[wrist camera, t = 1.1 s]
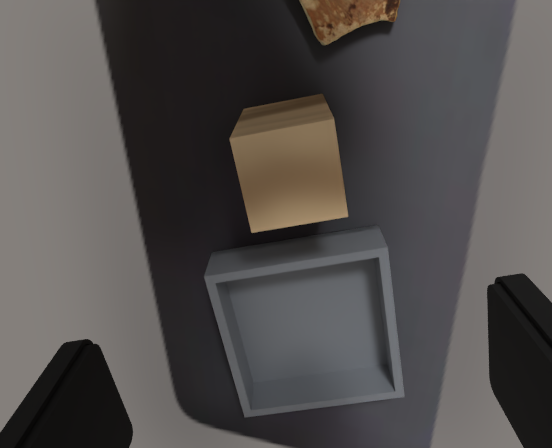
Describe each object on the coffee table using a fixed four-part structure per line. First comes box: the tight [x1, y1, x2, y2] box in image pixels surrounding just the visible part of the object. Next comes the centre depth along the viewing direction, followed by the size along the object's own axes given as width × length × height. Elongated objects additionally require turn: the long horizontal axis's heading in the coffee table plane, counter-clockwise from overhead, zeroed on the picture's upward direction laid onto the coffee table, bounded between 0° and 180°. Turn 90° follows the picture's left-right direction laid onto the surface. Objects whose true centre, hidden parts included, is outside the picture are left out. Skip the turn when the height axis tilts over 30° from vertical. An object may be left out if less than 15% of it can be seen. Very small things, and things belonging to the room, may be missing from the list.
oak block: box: [229, 94, 348, 233], centre depth 27 cm, size 5×5×8 cm
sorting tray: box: [204, 225, 404, 417], centre depth 34 cm, size 12×12×4 cm
